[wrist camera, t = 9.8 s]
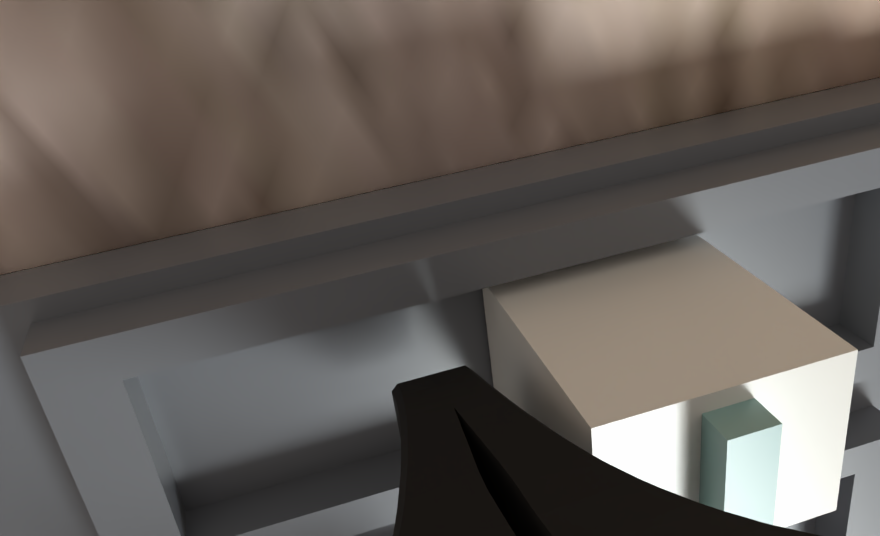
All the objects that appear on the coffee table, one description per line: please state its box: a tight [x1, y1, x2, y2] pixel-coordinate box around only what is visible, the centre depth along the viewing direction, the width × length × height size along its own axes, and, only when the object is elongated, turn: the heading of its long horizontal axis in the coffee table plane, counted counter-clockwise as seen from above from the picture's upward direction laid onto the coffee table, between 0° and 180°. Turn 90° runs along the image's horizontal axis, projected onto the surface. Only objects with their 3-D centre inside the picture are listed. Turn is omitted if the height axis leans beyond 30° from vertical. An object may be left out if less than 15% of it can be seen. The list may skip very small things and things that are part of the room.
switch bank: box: [0, 78, 880, 536], centre depth 17 cm, size 13×20×2 cm, turn 97°
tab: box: [482, 234, 858, 528], centre depth 13 cm, size 3×4×5 cm
